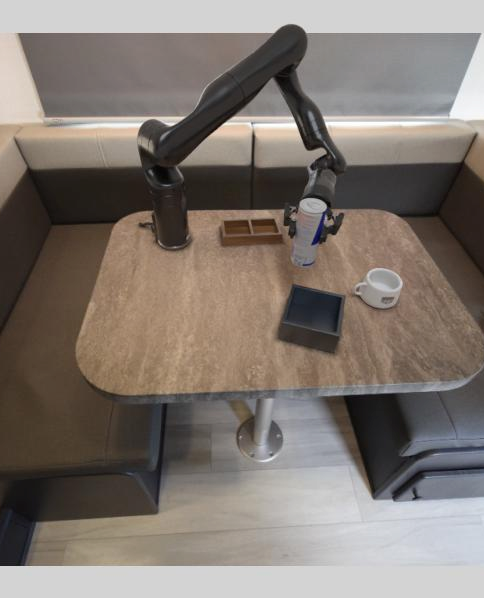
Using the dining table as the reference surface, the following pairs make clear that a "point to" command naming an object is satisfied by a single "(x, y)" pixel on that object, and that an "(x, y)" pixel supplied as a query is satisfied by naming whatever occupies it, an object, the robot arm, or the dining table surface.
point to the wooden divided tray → (251, 231)
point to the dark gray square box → (312, 318)
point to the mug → (380, 288)
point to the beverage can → (308, 232)
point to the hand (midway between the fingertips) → (306, 237)
